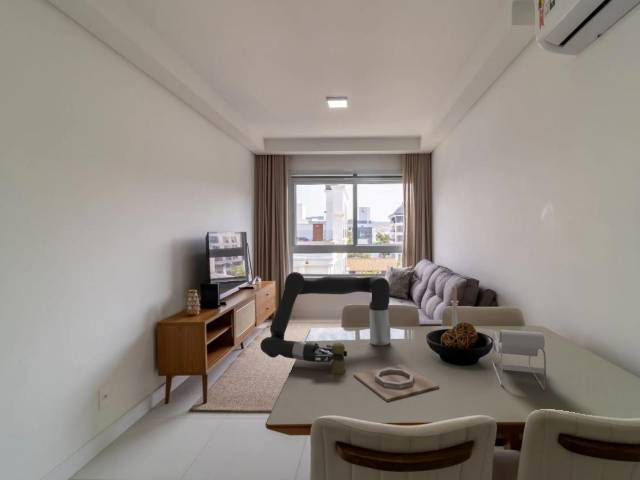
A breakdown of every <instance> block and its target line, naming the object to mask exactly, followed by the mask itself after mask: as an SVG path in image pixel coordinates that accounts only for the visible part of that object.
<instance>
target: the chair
mask: <svg viewBox="0 0 640 480" xmlns="http://www.w3.org/2000/svg"><path fill="white" fill-rule="evenodd" d="M492 337H493V338H492V349H493V350H492V356H491V359H492V360H491V361H492V362H491V363H492V366H493V368H494V371H495V374H496V376H497V379H498V382H499V384H500V386H503V370H504V371H513V372H514V371H515V372H525V373H531V374H533V376H534V378H535V379H536V381H537V383H538V384H539V385H540V387H541V389H542V390H543V391H546V390H547V383H546V382H547V381H546V380H547V377H546V376H547V372H546V371H547V369H546V368H547V361H546V352H545V346H546V345H545V341H546V340H545V335H544V333H543V332H539V331H526V330H525V331H523V330H510V329H509V330H508V329H500V330H499V336H497V333H496V332H495V331H493V335H492ZM498 337H499V338H498ZM539 350H541V351H542V354H543V368H542V367H534V366H533V367H532V366H531V357H538V356H539ZM495 352H497V354H500V376H499V373H498V371H497V367H496V366H495V362H494V355H495ZM503 354H506V355H517V356H525V357H528V366H522V365H512V364H505V363H504V364H503ZM537 374H542V375H543V379H544V380H543V384H542V383H541V381H540V379H539V378H538V376H537Z"/></svg>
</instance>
